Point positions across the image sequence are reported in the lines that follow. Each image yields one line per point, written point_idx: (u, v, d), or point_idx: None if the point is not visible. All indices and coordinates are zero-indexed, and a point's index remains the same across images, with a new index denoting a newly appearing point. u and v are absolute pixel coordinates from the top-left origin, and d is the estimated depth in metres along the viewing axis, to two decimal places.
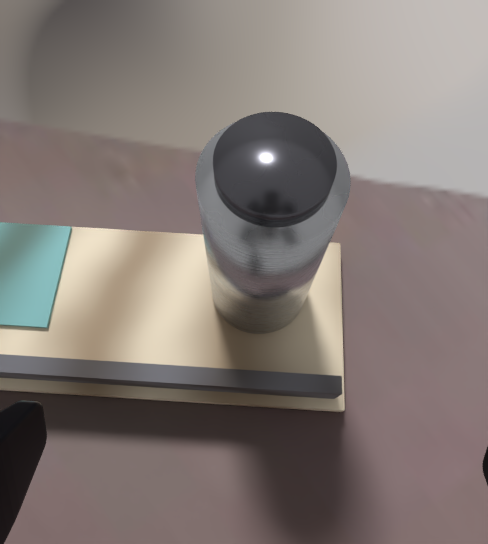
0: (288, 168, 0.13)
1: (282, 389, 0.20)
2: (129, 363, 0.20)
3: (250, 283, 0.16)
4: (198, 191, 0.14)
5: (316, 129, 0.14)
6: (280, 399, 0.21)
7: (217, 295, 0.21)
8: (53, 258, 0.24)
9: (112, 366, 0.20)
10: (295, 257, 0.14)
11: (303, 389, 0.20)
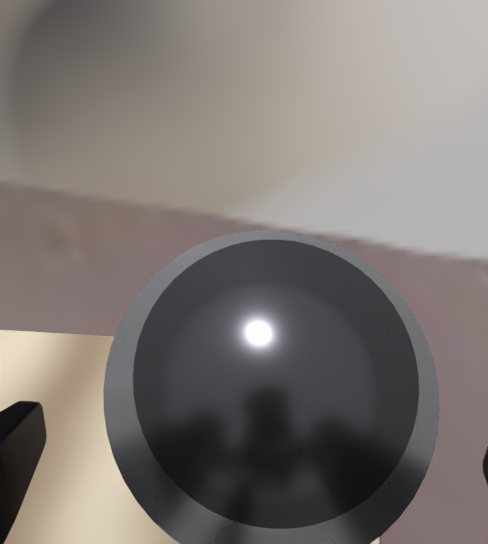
0: (307, 388, 0.06)
1: None
2: None
3: None
4: (107, 421, 0.06)
5: (366, 284, 0.06)
6: None
7: None
8: None
9: None
10: None
11: None
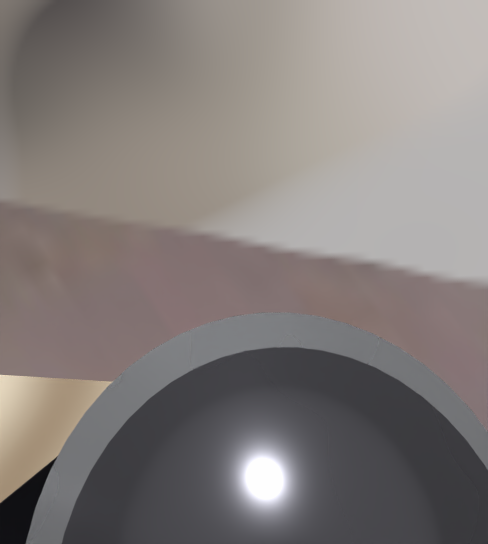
0: None
1: None
2: None
3: None
4: None
5: (438, 426, 0.04)
6: None
7: None
8: None
9: None
10: None
11: None
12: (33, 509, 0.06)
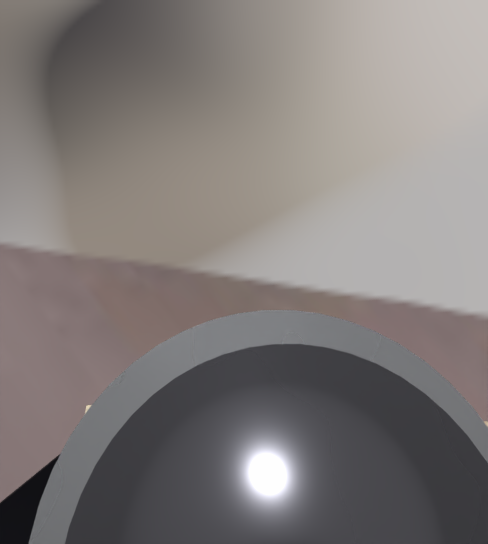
0: None
1: None
2: None
3: None
4: None
5: (440, 421, 0.04)
6: None
7: None
8: None
9: None
10: None
11: None
12: (33, 509, 0.06)
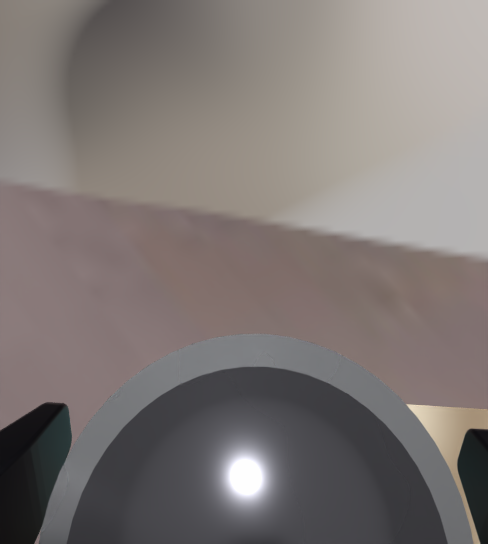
0: None
1: None
2: None
3: None
4: None
5: (380, 433, 0.05)
6: None
7: None
8: None
9: None
10: None
11: None
12: None
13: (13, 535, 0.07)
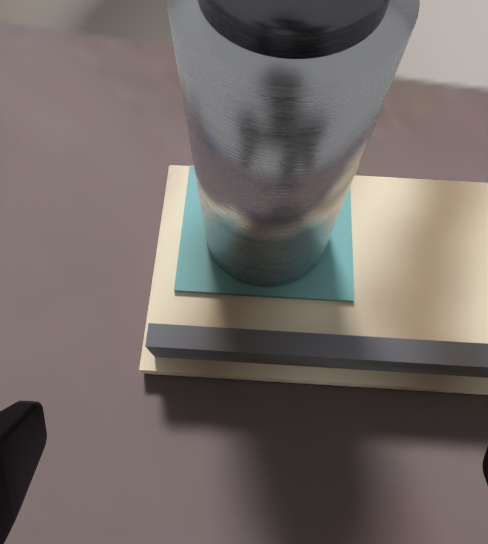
0: None
1: None
2: None
3: (256, 186, 0.11)
4: (170, 9, 0.09)
5: None
6: None
7: (211, 229, 0.15)
8: (339, 213, 0.19)
9: None
10: (329, 123, 0.09)
11: None
12: None
13: None
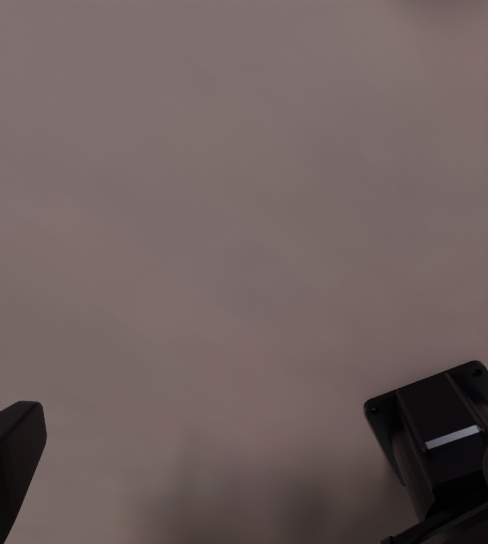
0: None
1: None
2: None
3: None
4: None
5: None
6: None
7: None
8: None
9: None
10: None
11: None
12: None
13: None
